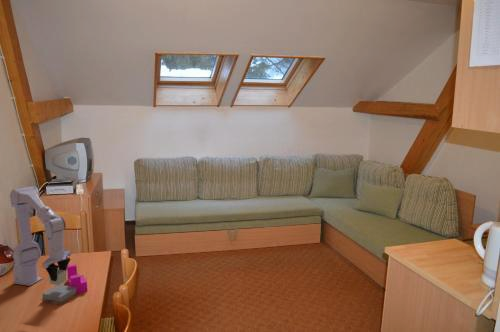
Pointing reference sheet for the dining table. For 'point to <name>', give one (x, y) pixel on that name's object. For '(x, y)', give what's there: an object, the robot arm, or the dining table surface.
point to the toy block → (76, 279)
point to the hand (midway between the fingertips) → (58, 277)
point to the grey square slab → (57, 301)
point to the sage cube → (59, 277)
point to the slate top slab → (59, 293)
